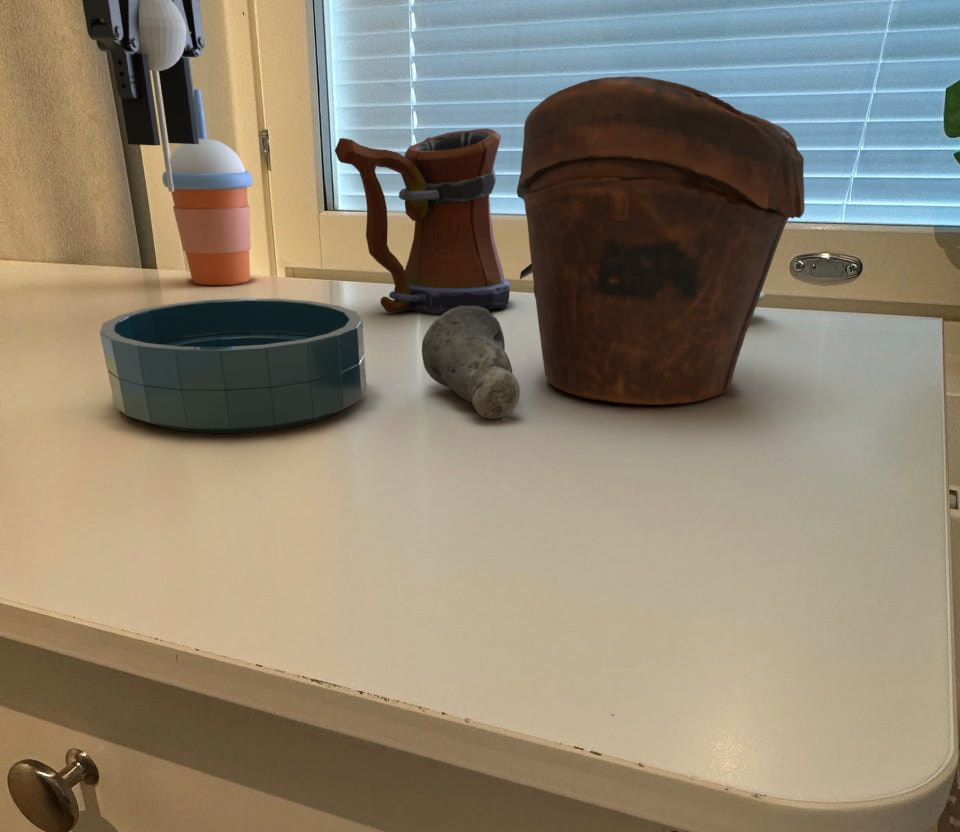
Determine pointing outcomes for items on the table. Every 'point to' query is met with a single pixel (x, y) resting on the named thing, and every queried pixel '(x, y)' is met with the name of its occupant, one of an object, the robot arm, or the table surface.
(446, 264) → the mug
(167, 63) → the lollipop
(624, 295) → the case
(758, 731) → the table surface
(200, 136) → the cup with straw
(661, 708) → the table surface
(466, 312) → the stone
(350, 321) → the bowl
